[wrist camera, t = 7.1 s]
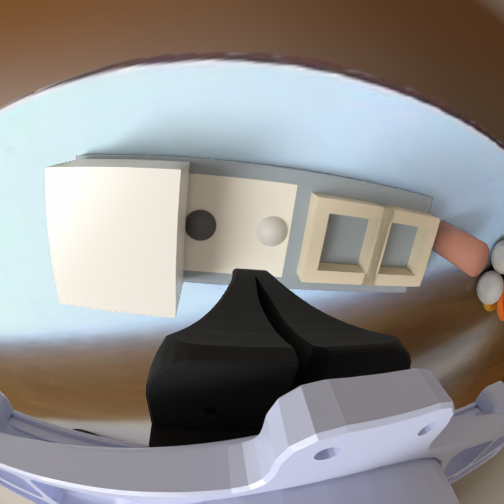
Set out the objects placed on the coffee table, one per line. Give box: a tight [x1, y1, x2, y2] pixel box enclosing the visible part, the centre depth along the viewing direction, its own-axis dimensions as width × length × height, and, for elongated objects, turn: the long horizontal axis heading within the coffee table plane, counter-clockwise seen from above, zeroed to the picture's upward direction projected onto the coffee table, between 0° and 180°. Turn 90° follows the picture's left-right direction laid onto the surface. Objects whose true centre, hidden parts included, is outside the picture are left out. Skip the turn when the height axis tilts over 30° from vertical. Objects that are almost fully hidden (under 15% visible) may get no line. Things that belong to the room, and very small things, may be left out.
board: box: [76, 154, 440, 293], centre depth 21 cm, size 28×9×3 cm, turn 83°
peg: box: [432, 220, 489, 277], centre depth 21 cm, size 3×3×6 cm
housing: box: [45, 159, 190, 318], centre depth 17 cm, size 8×9×5 cm
